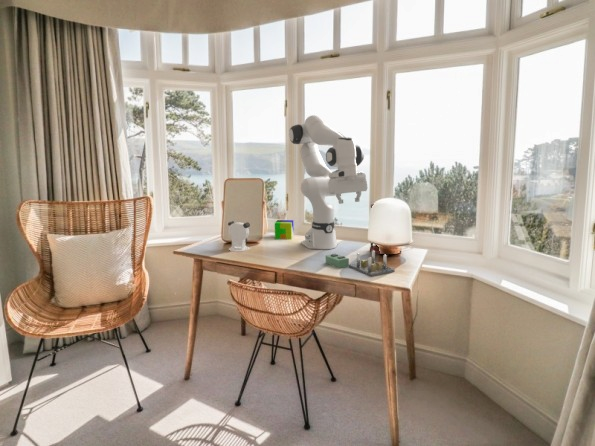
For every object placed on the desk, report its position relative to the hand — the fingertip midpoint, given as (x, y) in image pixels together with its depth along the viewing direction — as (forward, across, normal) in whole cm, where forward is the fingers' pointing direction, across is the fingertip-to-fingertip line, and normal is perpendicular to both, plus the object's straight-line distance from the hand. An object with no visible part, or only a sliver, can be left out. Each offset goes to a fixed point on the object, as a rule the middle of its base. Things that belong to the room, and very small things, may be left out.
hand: (349, 202), depth 181 cm
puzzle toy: (+23, +1, -67) cm, 70 cm away
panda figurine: (+23, +35, -55) cm, 70 cm away
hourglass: (+29, -28, -8) cm, 41 cm away
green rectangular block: (+29, +7, -3) cm, 30 cm away
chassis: (+30, -2, +11) cm, 32 cm away
